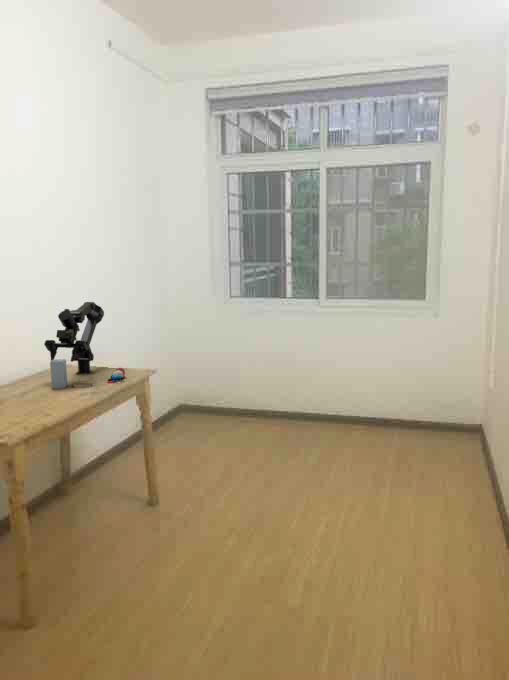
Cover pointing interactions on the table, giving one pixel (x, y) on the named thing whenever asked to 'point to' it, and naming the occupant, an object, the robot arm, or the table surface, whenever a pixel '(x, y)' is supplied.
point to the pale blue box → (58, 373)
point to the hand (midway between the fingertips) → (61, 361)
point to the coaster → (83, 384)
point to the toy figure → (117, 375)
